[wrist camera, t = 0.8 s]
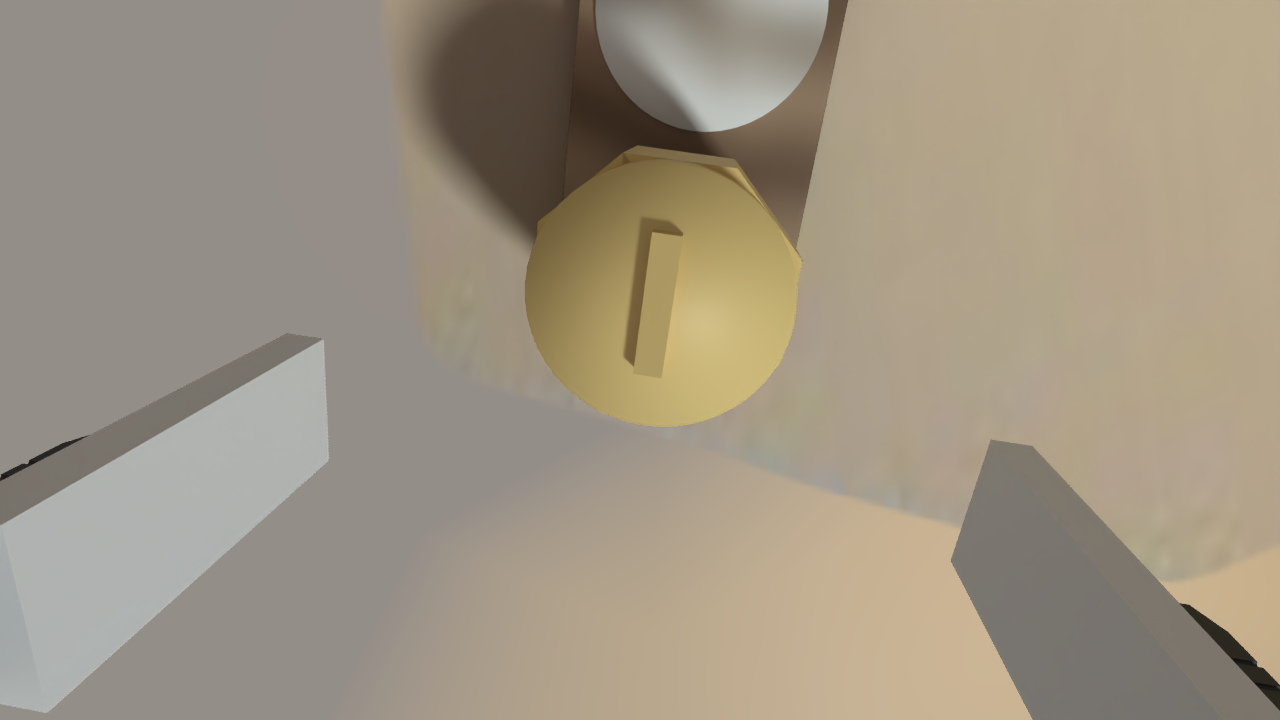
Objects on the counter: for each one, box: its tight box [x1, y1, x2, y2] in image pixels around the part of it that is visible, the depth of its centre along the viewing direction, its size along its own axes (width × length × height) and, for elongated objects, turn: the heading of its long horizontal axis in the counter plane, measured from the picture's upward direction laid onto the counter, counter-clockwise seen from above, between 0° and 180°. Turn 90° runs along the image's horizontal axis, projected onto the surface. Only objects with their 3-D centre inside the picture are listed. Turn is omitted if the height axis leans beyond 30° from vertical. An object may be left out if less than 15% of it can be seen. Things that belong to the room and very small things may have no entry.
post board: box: [563, 0, 848, 248], centre depth 27 cm, size 20×11×9 cm, turn 173°
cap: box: [525, 146, 802, 427], centre depth 26 cm, size 9×9×6 cm
